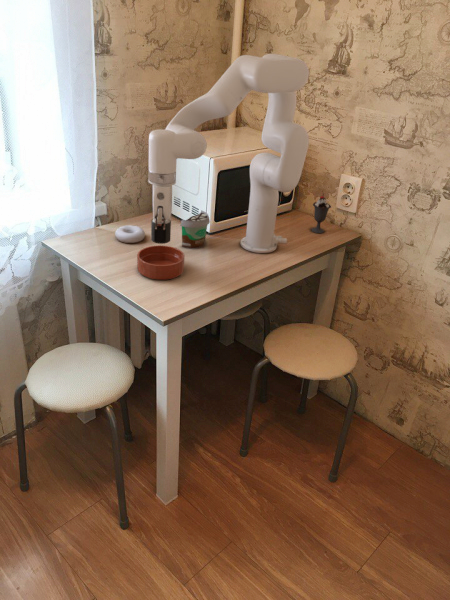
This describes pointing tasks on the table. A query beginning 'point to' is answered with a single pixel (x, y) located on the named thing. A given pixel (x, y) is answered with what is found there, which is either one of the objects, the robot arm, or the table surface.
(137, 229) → the donut
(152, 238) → the sushi roll
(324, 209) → the sundae
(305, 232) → the table surface
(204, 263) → the table surface
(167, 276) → the bowl
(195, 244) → the food container
